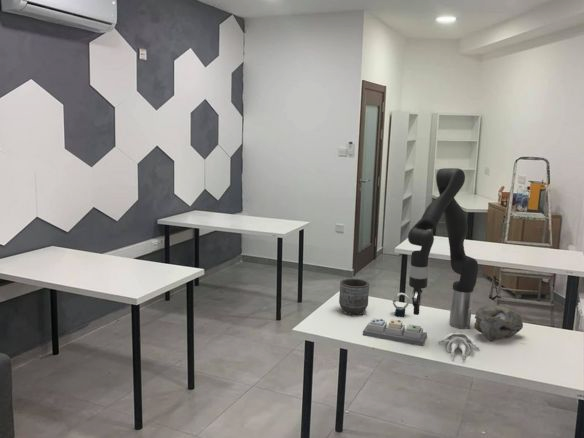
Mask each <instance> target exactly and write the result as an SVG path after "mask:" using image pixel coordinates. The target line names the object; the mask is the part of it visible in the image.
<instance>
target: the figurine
mask: <svg viewBox="0 0 584 438" xmlns="http://www.w3.org/2000/svg"><path fill="white" fill-rule="evenodd" d="M447 340H448V341H449V342H448V343H447V345H446V350H447V352H448V353H449V354H450V358H451V359H453V358H454V356H455V350H456V349H458V348H459V351H461V352H462V353H461V359H462V360H464V361H465V358H466V356H469V355H470V353H471V347H470V345H471V346H473V348H475V350H476V352H479V351H480V349H481V348H480V347H479V346H478V345H477V344H476V343H475V341H474V340H473V338H472V337H471V336H469V335H467V334H466V333H462V332H450V333H447V334H446V335H445V336H444V337H443V338H441V339H440V340H438V341H437V342H436V343H437V345H438V346H440V345H442V343H444V342H446V341H447ZM469 344H470V345H469Z"/></svg>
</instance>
